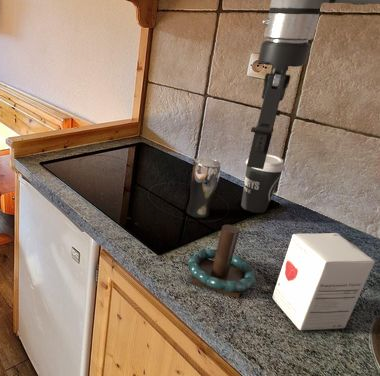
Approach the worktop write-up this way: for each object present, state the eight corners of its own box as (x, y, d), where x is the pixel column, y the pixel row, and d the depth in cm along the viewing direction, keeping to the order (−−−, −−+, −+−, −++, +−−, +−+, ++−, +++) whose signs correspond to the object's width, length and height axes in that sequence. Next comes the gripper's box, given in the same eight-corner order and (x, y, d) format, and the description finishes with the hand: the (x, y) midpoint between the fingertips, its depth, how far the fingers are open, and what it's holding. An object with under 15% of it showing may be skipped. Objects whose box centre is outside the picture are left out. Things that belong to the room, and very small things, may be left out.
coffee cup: (244, 197, 121) (257, 149, 115) (278, 208, 115) (292, 159, 108) (229, 206, 115) (240, 156, 109) (262, 219, 109) (277, 167, 103)
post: (244, 274, 86) (258, 225, 81) (238, 298, 79) (253, 246, 74) (200, 261, 90) (211, 213, 85) (191, 283, 83) (202, 232, 78)
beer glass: (178, 209, 113) (188, 159, 106) (197, 204, 116) (207, 155, 109) (197, 221, 107) (208, 168, 101) (216, 215, 110) (228, 164, 104)
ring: (256, 266, 87) (258, 258, 86) (252, 301, 77) (254, 293, 76) (194, 249, 93) (195, 241, 92) (182, 280, 82) (184, 272, 81)
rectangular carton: (269, 297, 80) (290, 232, 74) (312, 296, 81) (337, 231, 74) (298, 331, 72) (325, 261, 65) (346, 329, 72) (377, 260, 66)
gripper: (267, 35, 81) (244, 136, 90) (256, 44, 62) (228, 173, 71) (310, 37, 78) (282, 142, 87) (313, 48, 58) (276, 182, 67)
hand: (258, 156), depth 79 cm, fingers open, 13 cm apart
